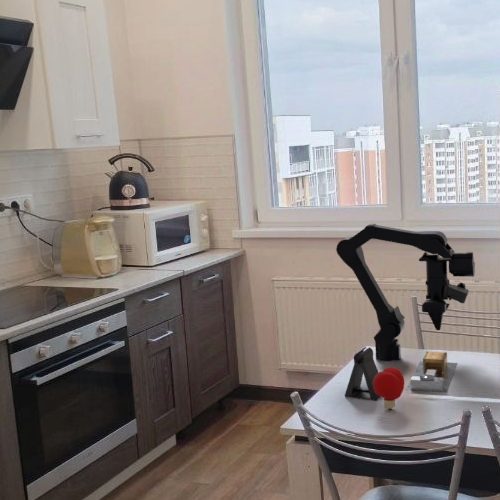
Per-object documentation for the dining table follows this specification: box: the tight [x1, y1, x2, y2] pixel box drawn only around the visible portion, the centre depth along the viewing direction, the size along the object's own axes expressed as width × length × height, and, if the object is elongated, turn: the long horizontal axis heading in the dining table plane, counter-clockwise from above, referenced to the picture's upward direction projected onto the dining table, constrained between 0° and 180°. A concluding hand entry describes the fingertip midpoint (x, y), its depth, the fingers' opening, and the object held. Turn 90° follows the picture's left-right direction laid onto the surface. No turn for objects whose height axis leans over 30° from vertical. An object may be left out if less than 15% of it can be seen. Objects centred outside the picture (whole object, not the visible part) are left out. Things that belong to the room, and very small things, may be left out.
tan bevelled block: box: [422, 351, 448, 374], centre depth 208 cm, size 6×7×4 cm
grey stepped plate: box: [405, 360, 458, 395], centre depth 203 cm, size 10×25×4 cm, turn 159°
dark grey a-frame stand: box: [344, 346, 382, 402], centre depth 193 cm, size 9×6×12 cm, turn 59°
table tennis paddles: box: [373, 366, 405, 411], centre depth 182 cm, size 9×7×10 cm
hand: (438, 329), depth 214 cm, fingers closed
